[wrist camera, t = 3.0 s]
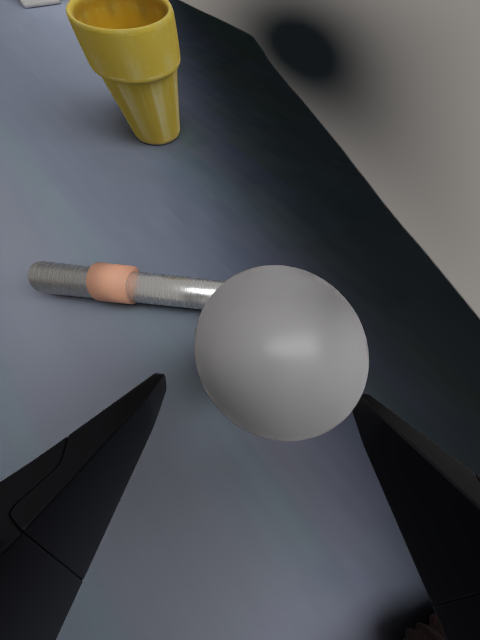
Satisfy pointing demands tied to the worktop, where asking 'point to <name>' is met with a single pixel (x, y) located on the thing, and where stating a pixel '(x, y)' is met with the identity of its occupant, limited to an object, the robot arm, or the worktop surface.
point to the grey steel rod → (121, 284)
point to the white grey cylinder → (281, 353)
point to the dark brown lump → (426, 630)
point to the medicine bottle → (38, 3)
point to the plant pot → (134, 60)
